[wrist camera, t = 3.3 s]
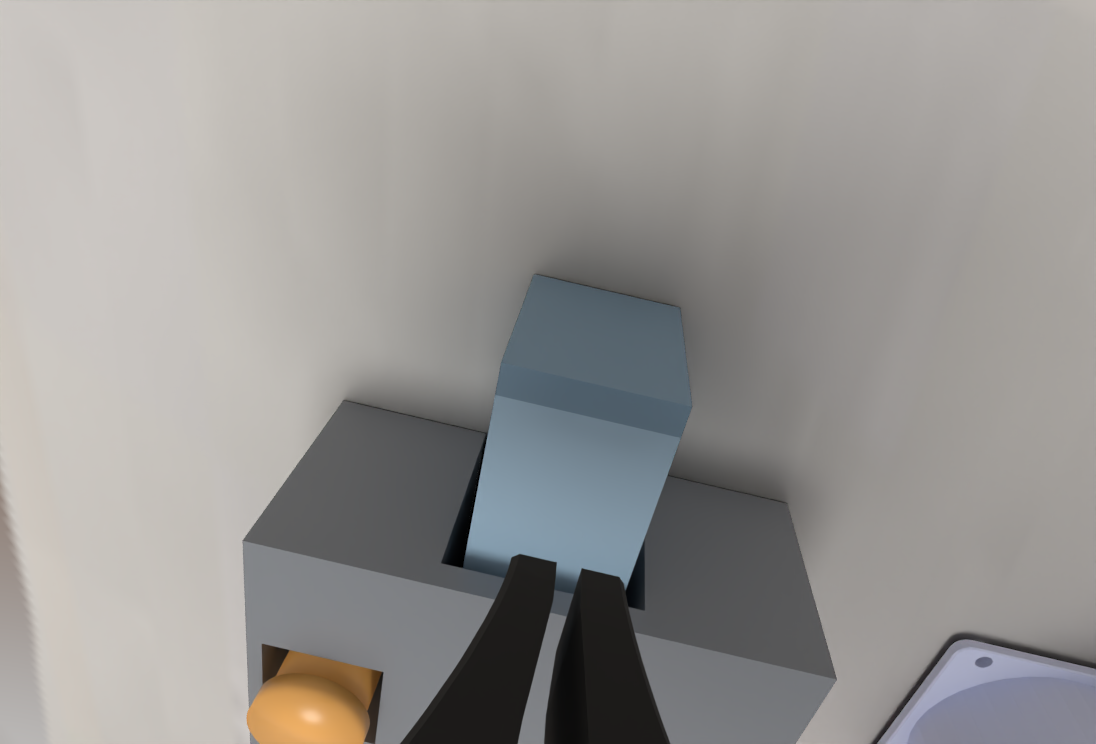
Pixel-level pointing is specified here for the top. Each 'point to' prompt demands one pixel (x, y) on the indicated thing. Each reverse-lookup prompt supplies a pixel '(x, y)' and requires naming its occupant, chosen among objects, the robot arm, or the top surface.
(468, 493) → the housing
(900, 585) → the top surface
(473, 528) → the block
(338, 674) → the plunger
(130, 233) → the top surface
